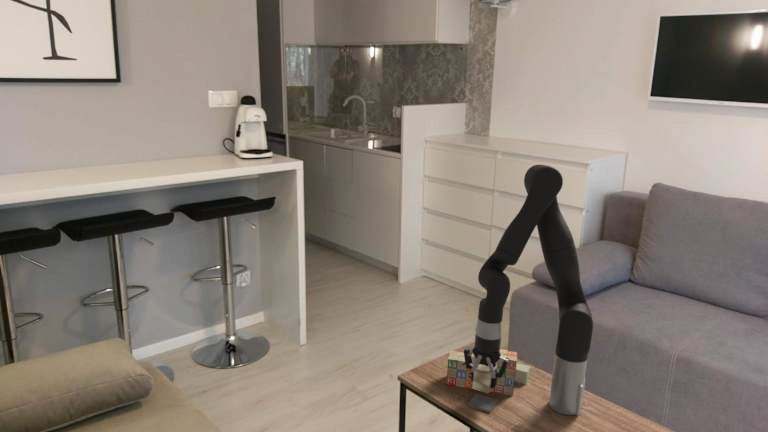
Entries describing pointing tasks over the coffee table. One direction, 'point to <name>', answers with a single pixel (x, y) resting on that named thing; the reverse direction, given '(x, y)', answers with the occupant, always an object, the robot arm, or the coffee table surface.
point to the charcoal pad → (482, 403)
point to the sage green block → (522, 373)
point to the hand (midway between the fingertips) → (483, 384)
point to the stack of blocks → (462, 375)
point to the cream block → (482, 379)
